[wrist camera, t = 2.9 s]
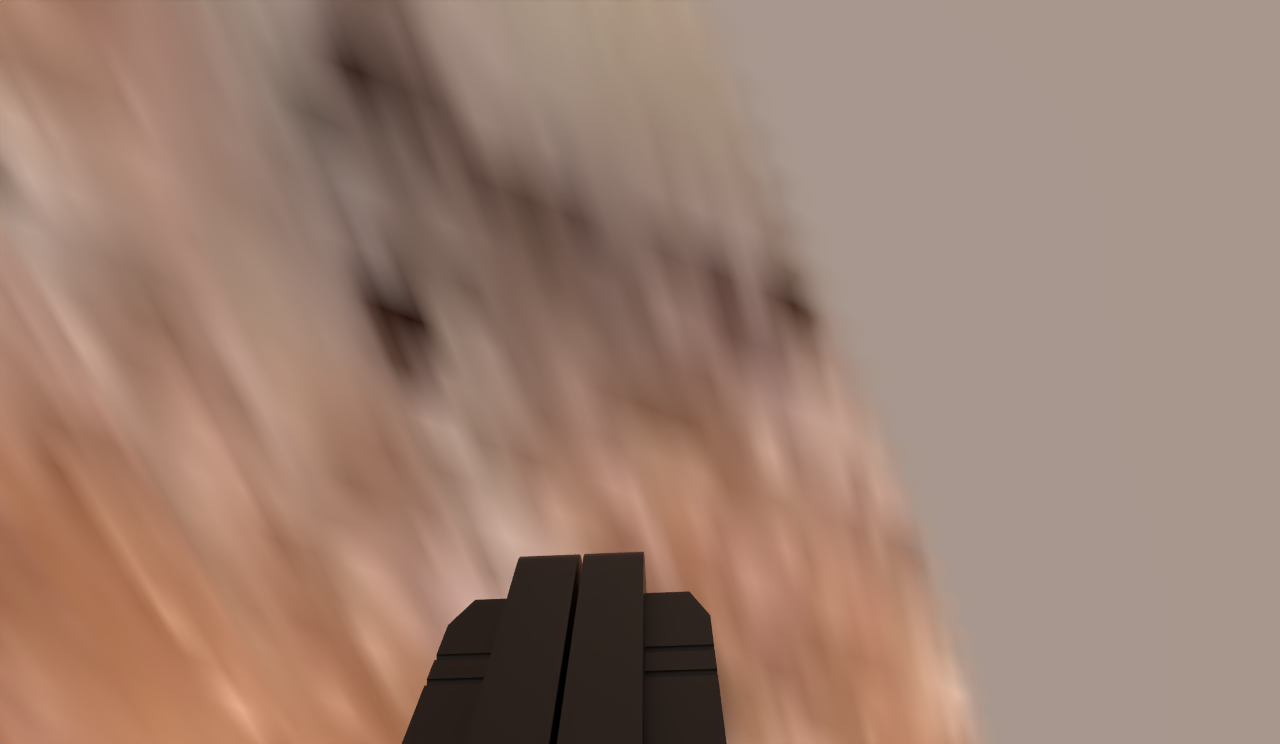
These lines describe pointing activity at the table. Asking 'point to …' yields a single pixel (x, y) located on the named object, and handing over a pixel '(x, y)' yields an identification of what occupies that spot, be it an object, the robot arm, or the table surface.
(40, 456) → the table surface
